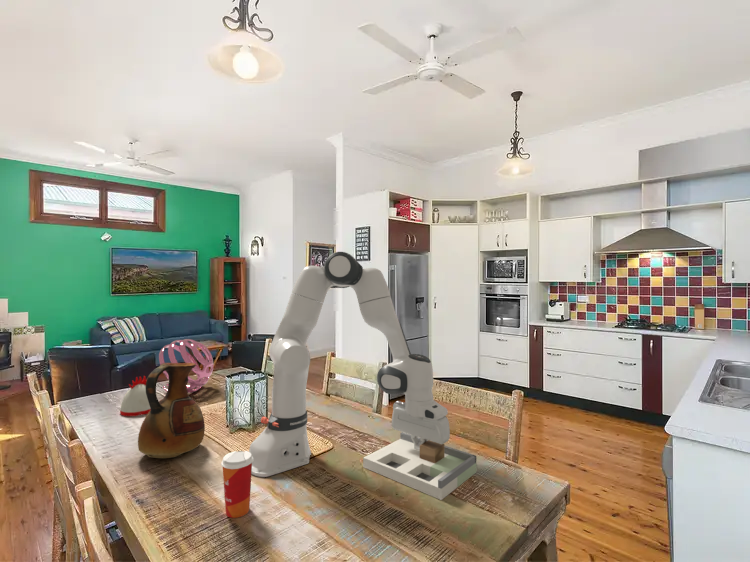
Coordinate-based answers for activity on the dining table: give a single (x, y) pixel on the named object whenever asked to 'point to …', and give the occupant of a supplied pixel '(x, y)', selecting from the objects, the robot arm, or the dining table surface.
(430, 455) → the walnut block
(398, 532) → the dining table surface
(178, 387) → the ceramic pitcher
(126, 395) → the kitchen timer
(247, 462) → the paper cup
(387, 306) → the robot arm
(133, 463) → the dining table surface
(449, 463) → the tray
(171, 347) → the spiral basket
